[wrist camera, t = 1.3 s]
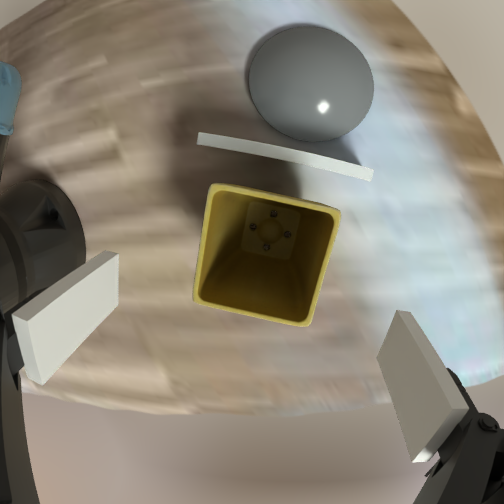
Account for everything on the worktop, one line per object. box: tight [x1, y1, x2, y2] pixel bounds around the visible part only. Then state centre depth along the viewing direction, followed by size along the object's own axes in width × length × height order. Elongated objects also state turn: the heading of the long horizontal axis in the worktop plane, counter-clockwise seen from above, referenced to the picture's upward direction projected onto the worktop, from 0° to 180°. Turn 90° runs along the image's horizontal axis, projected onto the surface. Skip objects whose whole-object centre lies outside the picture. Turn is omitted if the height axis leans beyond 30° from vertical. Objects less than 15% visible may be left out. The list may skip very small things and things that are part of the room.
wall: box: [197, 132, 374, 182], centre depth 26 cm, size 14×1×4 cm, turn 79°
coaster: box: [249, 27, 374, 142], centre depth 25 cm, size 11×11×1 cm
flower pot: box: [193, 183, 341, 327], centre depth 26 cm, size 9×9×9 cm
